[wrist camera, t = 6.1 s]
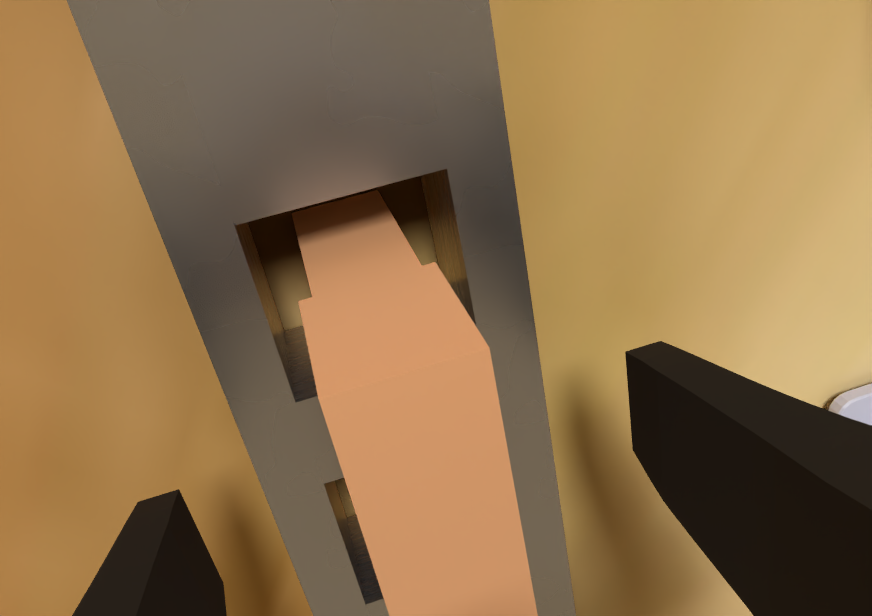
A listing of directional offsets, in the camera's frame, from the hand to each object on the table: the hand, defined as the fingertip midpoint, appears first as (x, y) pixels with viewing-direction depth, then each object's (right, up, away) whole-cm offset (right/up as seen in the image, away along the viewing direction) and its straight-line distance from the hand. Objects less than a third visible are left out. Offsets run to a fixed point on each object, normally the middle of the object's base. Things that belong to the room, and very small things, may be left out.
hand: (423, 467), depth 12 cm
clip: (-1, +2, +3) cm, 4 cm away
